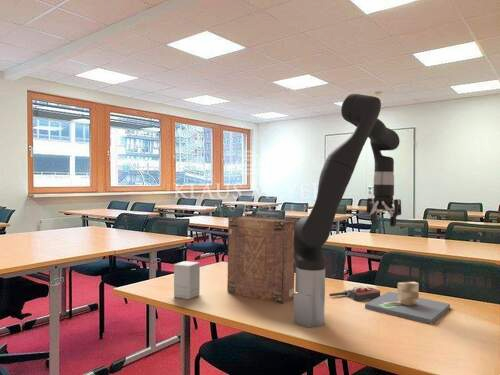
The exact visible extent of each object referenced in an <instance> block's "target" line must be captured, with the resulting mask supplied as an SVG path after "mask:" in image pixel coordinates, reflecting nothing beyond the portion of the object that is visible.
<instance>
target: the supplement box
mask: <svg viewBox="0 0 500 375" xmlns="http://www.w3.org/2000/svg"><path fill="white" fill-rule="evenodd" d="M200 266H201V265H200V262H197V261H189V260H188V261H186V260H183V261H180V262H177V263H174V264H173V272H174V273H173V297H174V298H178V299H185V300H191V299H193V298H195V297H198V296H200V294H201V293H200V289H201V288H200V287H201V286H200V284H201V282H200V276H201V275H200V273H201V272H200V269H201V267H200Z"/></svg>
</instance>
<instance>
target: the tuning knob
mask: <svg viewBox="0 0 500 375" xmlns="http://www.w3.org/2000/svg"><path fill="white" fill-rule="evenodd" d="M419 285H420V284H419V282H416V281H402V282H397V292H396V293H397V298H398V299H399V302H387V303H383V305H393V304H404V305H410V306H413V305H417V299H418V298H420V297H419V294H420V293H419V291H420V290H419V288H420V286H419Z"/></svg>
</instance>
